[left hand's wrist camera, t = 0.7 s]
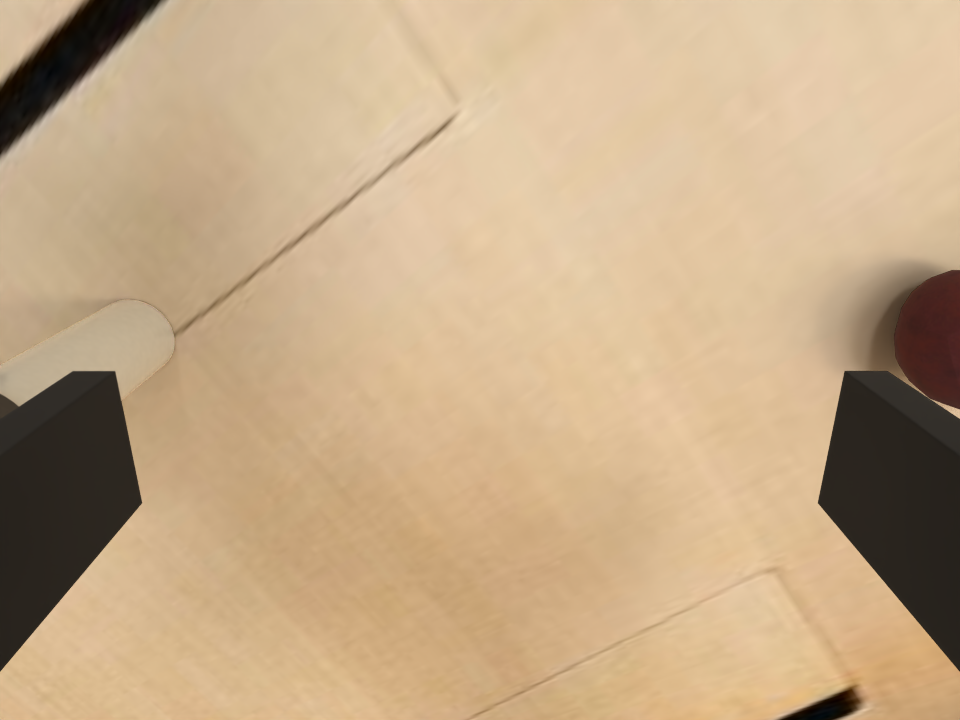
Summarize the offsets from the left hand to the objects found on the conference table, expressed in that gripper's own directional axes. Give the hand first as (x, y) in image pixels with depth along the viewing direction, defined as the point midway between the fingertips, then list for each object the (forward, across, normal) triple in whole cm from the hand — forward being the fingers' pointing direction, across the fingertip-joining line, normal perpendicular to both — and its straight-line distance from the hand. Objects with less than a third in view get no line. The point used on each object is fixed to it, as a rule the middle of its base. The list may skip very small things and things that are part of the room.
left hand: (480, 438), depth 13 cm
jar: (+28, -21, -8) cm, 36 cm away
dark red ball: (+28, +27, -6) cm, 39 cm away
